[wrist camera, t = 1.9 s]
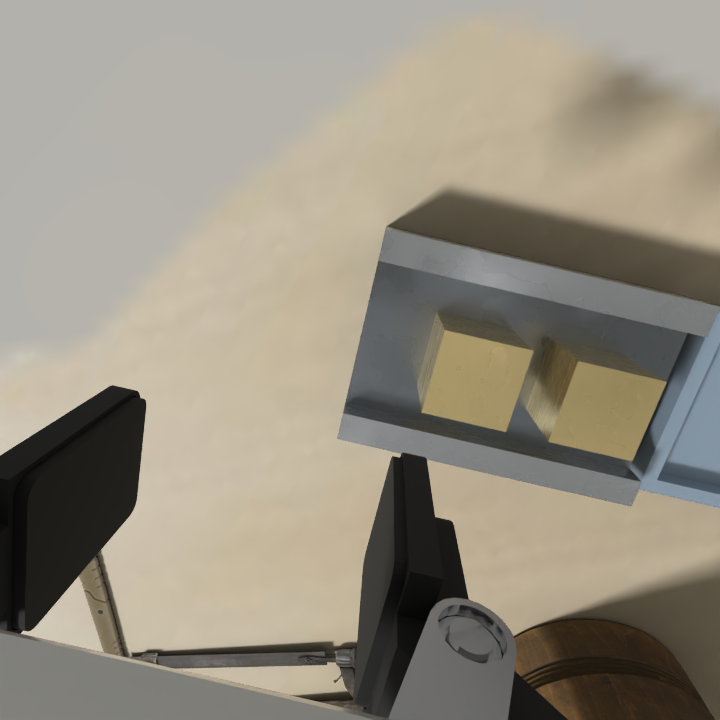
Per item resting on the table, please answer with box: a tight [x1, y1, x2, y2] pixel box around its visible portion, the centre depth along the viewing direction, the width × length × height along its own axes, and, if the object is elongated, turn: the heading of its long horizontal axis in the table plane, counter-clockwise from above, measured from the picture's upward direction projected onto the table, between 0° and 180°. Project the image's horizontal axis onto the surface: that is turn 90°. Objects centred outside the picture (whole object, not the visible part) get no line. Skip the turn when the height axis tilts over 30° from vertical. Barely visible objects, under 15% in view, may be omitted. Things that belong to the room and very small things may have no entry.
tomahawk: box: [79, 555, 126, 657], centre depth 35 cm, size 21×7×1 cm, turn 2°
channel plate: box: [337, 226, 720, 506], centre depth 26 cm, size 16×11×4 cm
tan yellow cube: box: [526, 338, 667, 461], centre depth 24 cm, size 4×4×4 cm
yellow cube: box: [417, 312, 534, 432], centre depth 24 cm, size 4×4×4 cm
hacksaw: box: [127, 648, 363, 712], centre depth 36 cm, size 24×10×2 cm, turn 97°
